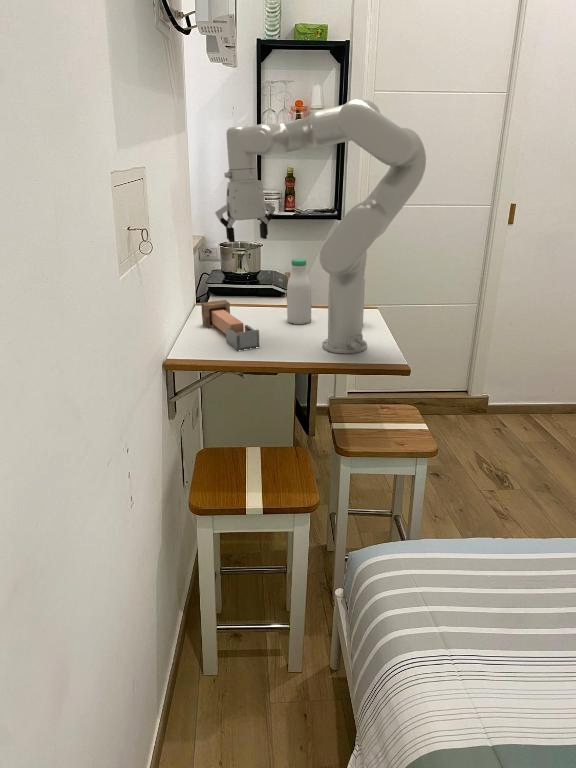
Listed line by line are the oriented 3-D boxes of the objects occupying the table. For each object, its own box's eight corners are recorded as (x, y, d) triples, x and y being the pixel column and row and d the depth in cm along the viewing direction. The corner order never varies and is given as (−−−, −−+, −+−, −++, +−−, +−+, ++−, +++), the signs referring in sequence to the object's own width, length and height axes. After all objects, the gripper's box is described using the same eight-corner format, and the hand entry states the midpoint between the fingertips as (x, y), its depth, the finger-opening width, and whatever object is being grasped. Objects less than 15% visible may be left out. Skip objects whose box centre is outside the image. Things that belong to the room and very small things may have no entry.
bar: (244, 336, 179) (243, 322, 177) (230, 338, 177) (230, 324, 176) (221, 319, 195) (220, 307, 194) (209, 321, 194) (208, 308, 192)
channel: (259, 347, 172) (259, 330, 170) (237, 351, 170) (236, 333, 168) (247, 339, 180) (247, 322, 178) (226, 342, 177) (225, 325, 175)
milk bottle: (311, 324, 193) (311, 261, 185) (287, 325, 193) (286, 262, 185) (311, 318, 200) (311, 257, 192) (287, 318, 200) (286, 257, 192)
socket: (230, 324, 194) (229, 302, 191) (206, 328, 191) (205, 305, 188) (226, 321, 197) (225, 299, 195) (202, 324, 194) (201, 302, 191)
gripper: (217, 178, 158) (223, 245, 164) (278, 174, 164) (281, 238, 171) (208, 177, 164) (214, 241, 171) (267, 173, 171) (270, 235, 177)
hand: (247, 240), depth 171 cm, fingers open, 9 cm apart
